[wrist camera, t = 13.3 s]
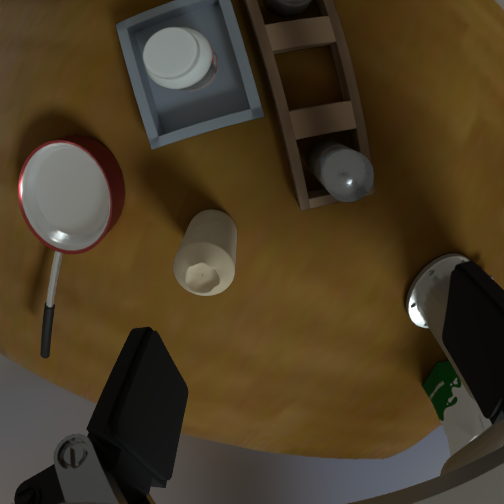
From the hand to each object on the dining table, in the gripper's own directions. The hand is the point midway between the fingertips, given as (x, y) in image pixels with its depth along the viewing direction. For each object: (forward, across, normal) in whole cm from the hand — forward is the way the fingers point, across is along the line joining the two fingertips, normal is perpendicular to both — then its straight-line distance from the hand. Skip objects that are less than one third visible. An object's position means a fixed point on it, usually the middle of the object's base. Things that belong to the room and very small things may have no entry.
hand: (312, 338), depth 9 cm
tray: (+25, +6, -13) cm, 29 cm away
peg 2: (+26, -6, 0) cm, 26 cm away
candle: (+26, +8, +5) cm, 27 cm away
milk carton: (+28, -26, +44) cm, 58 cm away
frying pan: (+25, +28, +4) cm, 37 cm away
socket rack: (+25, -6, -9) cm, 28 cm away
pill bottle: (+25, +5, -13) cm, 28 cm away
